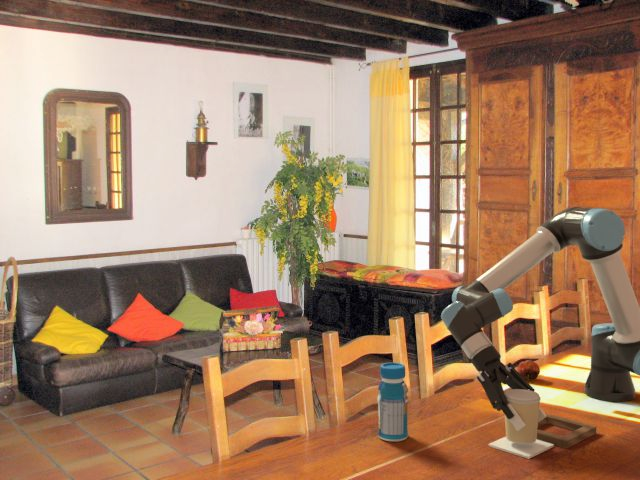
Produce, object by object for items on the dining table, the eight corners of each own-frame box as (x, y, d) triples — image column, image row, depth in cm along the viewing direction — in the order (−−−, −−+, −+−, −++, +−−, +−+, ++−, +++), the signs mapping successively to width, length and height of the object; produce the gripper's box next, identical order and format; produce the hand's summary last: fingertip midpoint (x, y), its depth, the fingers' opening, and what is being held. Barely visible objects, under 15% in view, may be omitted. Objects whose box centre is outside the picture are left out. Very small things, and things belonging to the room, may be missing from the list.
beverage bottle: (388, 444, 196) (388, 371, 194) (371, 434, 203) (371, 363, 201) (414, 439, 199) (414, 366, 198) (397, 429, 207) (397, 359, 205)
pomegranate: (540, 389, 251) (542, 366, 257) (537, 376, 246) (538, 352, 253) (518, 389, 254) (520, 366, 261) (514, 376, 249) (516, 353, 256)
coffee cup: (540, 434, 196) (541, 390, 195) (538, 446, 187) (539, 401, 186) (504, 430, 199) (505, 387, 198) (501, 442, 190) (501, 397, 189)
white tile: (514, 434, 202) (514, 432, 202) (553, 446, 193) (553, 444, 193) (488, 446, 194) (488, 443, 194) (528, 459, 185) (528, 456, 185)
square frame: (544, 419, 214) (544, 412, 214) (596, 433, 202) (596, 426, 202) (513, 433, 203) (513, 426, 203) (566, 448, 191) (566, 441, 191)
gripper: (496, 353, 210) (545, 420, 200) (448, 368, 195) (499, 441, 185) (512, 338, 206) (563, 406, 196) (465, 351, 191) (517, 426, 181)
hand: (532, 423), depth 190 cm, fingers closed on coffee cup, 9 cm apart
